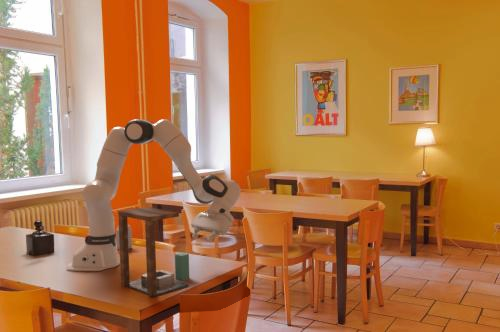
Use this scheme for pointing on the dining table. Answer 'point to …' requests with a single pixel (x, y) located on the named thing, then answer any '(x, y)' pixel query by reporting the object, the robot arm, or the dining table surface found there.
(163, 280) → the socket
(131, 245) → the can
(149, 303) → the dining table surface
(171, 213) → the open wooden frame
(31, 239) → the black block with knob
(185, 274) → the post
